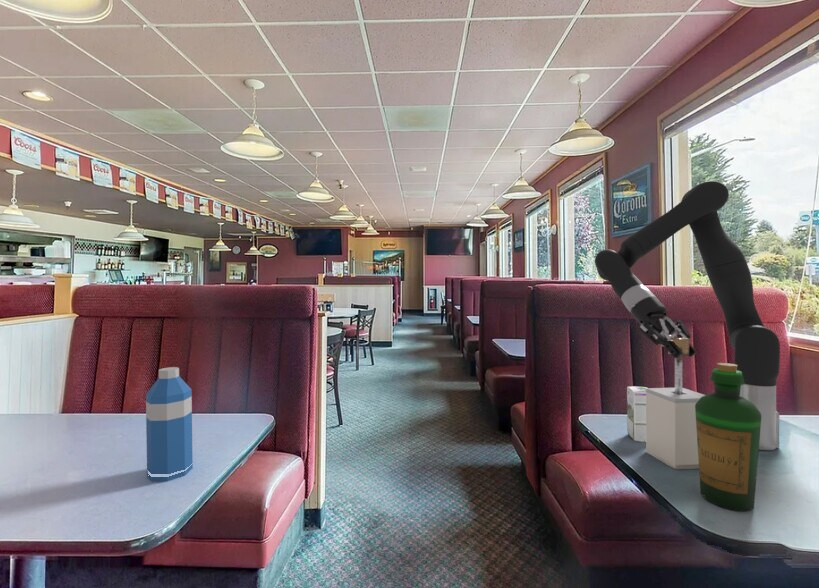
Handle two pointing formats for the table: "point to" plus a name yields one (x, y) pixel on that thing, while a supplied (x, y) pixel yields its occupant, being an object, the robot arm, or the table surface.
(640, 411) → the syrup box
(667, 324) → the robot arm
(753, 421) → the bottle
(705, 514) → the table surface
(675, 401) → the white box
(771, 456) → the table surface
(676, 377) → the brown round knob
